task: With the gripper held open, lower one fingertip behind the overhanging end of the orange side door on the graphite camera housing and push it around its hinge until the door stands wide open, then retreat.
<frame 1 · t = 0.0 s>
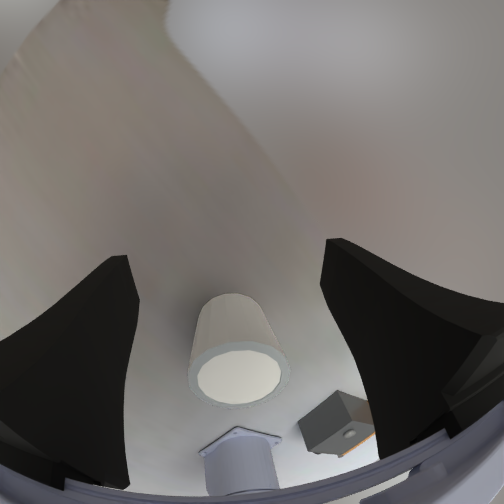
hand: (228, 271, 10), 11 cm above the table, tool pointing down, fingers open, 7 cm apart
white cup: (231, 320, 23), on the table
side door: (366, 421, 29), point 2 cm above the table, hinge at 0.0°
camera housing: (333, 411, 31), on the table
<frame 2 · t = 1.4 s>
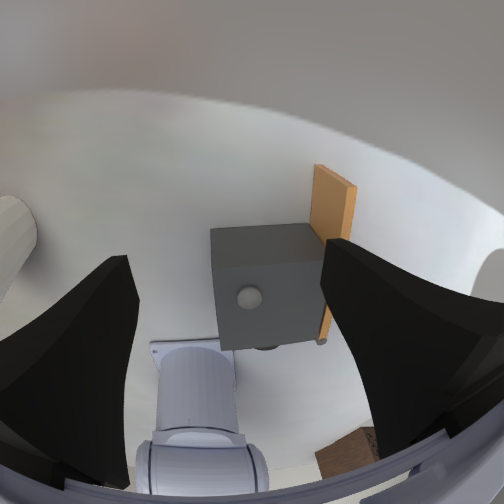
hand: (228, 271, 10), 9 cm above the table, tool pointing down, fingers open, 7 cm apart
tissue box cover: (363, 438, 56), on the table
white cup: (14, 225, 16), on the table
side door: (322, 260, 19), point 3 cm above the table, hinge at 0.0°
camera housing: (259, 267, 21), on the table
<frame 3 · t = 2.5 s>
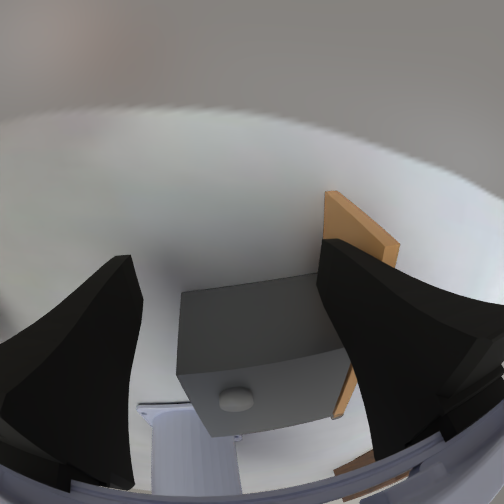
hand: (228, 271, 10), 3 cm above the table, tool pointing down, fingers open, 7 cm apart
tissue box cover: (383, 451, 49), on the table
side door: (339, 327, 13), point 3 cm above the table, hinge at 0.0°, touching gripper
camera housing: (255, 330, 16), on the table
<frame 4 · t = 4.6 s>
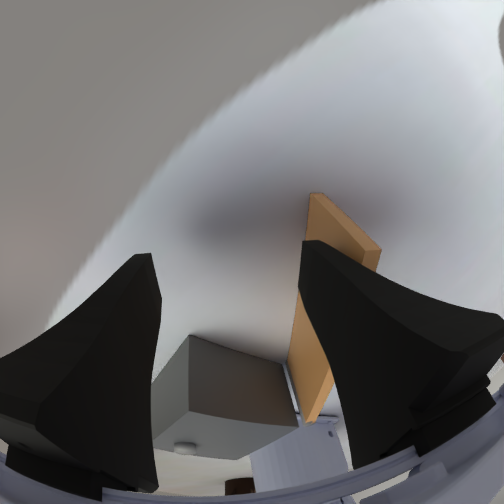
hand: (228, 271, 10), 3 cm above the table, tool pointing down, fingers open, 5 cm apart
coffee mug: (241, 478, 38), on the table
side door: (316, 332, 13), point 3 cm above the table, hinge at 56.1°, touching gripper
camera housing: (212, 378, 18), on the table
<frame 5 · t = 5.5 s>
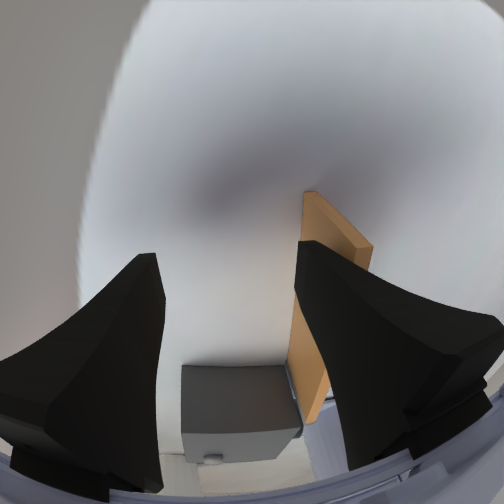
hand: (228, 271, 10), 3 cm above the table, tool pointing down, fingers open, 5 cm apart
white cup: (175, 458, 28), on the table
side door: (313, 331, 13), point 2 cm above the table, hinge at 80.6°, touching gripper
camera housing: (229, 392, 19), on the table
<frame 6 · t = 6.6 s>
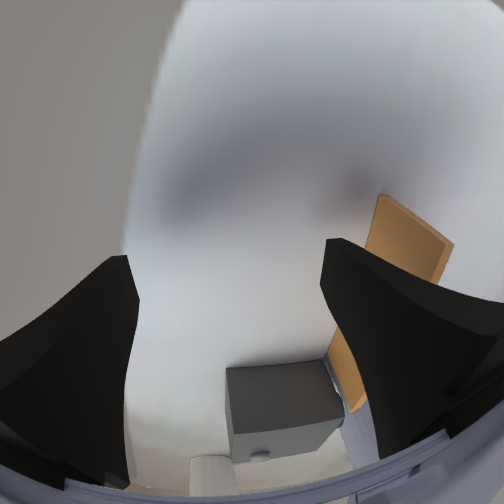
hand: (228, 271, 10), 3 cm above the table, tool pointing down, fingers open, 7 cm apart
white cup: (210, 459, 29), on the table
side door: (372, 321, 13), point 2 cm above the table, hinge at 90.3°
camera housing: (270, 390, 20), on the table
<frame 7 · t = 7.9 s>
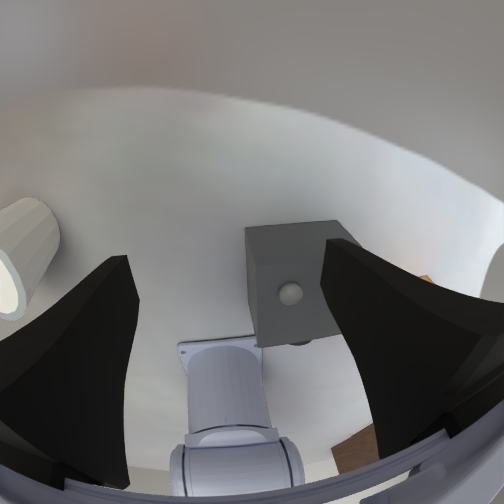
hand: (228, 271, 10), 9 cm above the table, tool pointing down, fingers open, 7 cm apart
tissue box cover: (378, 432, 56), on the table
white cup: (34, 228, 17), on the table
side door: (395, 302, 22), point 2 cm above the table, hinge at 90.3°
camera housing: (291, 264, 22), on the table
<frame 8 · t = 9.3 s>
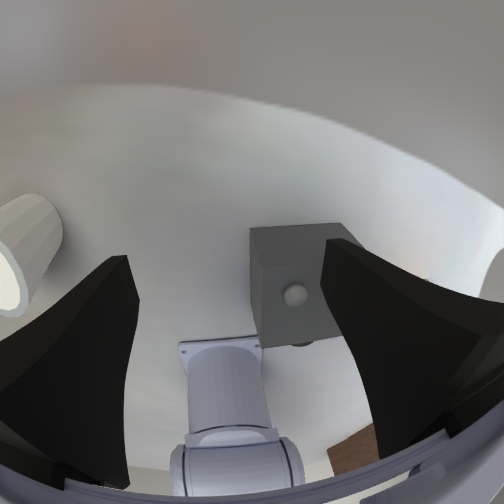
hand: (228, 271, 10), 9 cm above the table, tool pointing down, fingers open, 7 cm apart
tissue box cover: (373, 434, 56), on the table
white cup: (37, 224, 17), on the table
side door: (395, 305, 23), point 2 cm above the table, hinge at 90.3°
camera housing: (294, 265, 22), on the table
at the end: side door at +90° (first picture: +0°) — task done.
